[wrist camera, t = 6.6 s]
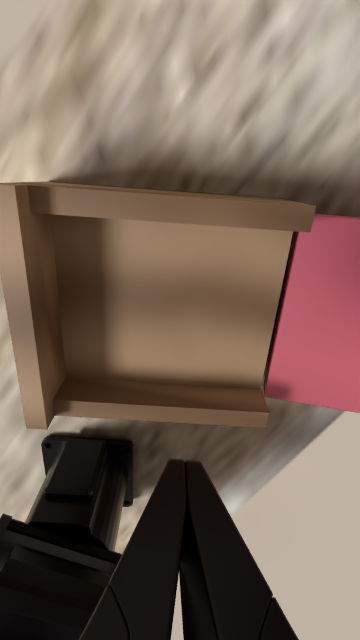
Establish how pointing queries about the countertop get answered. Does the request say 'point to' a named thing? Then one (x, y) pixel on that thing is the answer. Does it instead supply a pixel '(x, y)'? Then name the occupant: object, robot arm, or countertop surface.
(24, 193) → the brown wooden drawer
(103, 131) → the countertop surface
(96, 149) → the countertop surface
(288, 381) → the panel
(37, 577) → the robot arm
